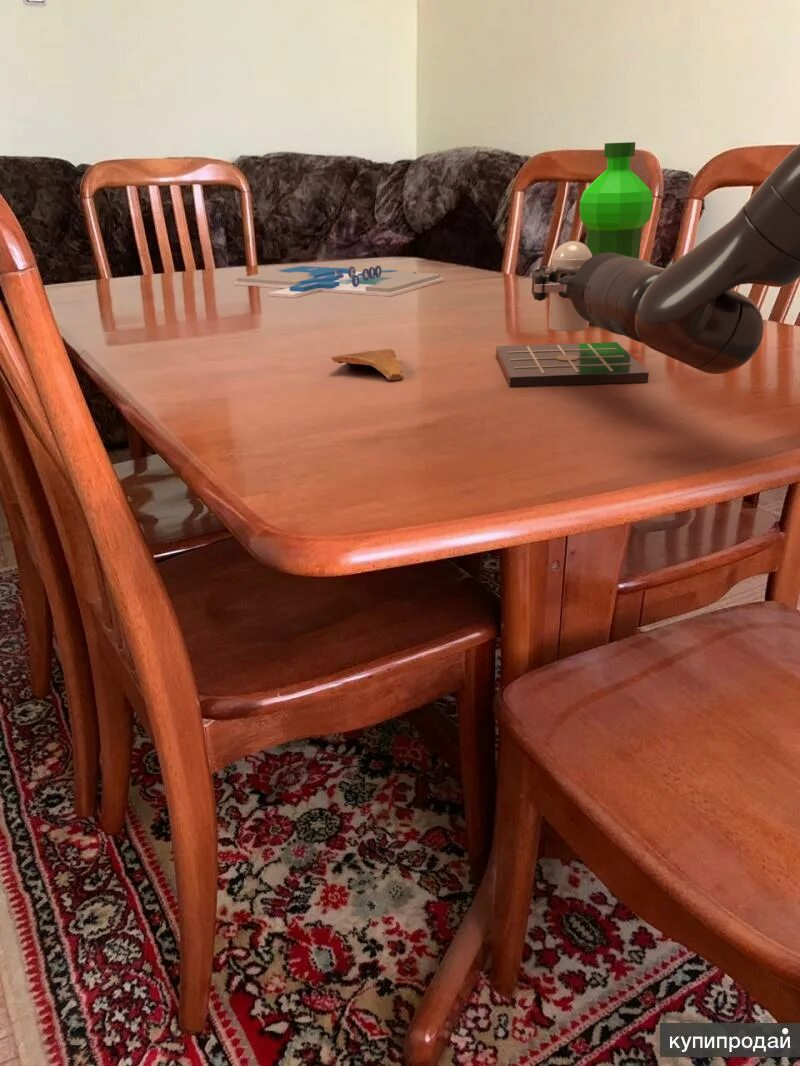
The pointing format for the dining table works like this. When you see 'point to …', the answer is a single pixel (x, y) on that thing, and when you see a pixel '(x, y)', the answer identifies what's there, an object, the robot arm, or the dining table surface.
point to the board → (569, 364)
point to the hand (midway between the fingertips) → (563, 273)
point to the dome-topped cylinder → (562, 309)
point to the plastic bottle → (616, 205)
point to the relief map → (339, 281)
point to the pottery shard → (375, 362)
